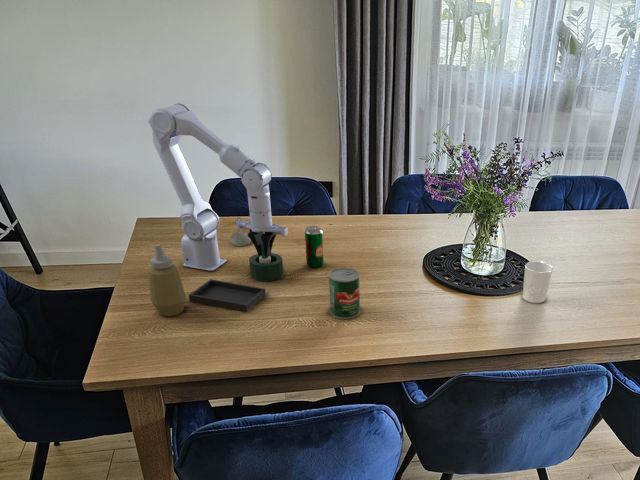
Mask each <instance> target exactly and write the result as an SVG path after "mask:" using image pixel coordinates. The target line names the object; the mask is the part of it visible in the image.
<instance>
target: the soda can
mask: <svg viewBox="0 0 640 480" xmlns="http://www.w3.org/2000/svg"><path fill="white" fill-rule="evenodd" d="M323 238H324V236H323V230H322V228H321V226H318V225H308V226H306V227H305V230H304V243H305V244H304V245H305V260H306V262H305V263H306V266H307V267H308V268H310V269H320V268H322V267H324V262H325V261H324V240H323Z"/></svg>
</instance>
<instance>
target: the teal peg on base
mask: <svg viewBox="0 0 640 480" xmlns="http://www.w3.org/2000/svg"><path fill="white" fill-rule="evenodd" d="M261 253H262V256H260V257H259V263H271V257H270V256H269V257H265V253H264V245H263V243H261Z"/></svg>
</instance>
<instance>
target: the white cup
mask: <svg viewBox="0 0 640 480" xmlns="http://www.w3.org/2000/svg"><path fill="white" fill-rule="evenodd" d="M553 270H554V268H553V266H552V265H551V264H549V263H547V262H545V261H539V260H537V261H536V260H532V261H528V262H526V263H525V264H524V274H523V285H522V286H523V287H522V289H523V292H522V299H524V300H525V301H526V302H528V303H533V304H540V303H543V302H546V298H547V295H548V292H549V287H550V283H551V278H552V274H553Z"/></svg>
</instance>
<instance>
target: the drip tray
mask: <svg viewBox="0 0 640 480" xmlns="http://www.w3.org/2000/svg"><path fill="white" fill-rule="evenodd" d="M266 293H267V292H266V288H263V287H257V286H251V285H246V284H240V283H235V282H228V281H223V280H217V279H212V278H210V279H209V280H207V281H206V282H205V283H203V284H202V285H200V286H199V287H197V288H196V289H195V290H193V291H192V292H191V293H189V294H188V297H189V298H188V299H189V302H190V303H194V304H195V303H197V304H202V305H207V306H213V307H217V308H223V309H229V310H234V311H240V312H246V313H248V312H249V311H250V310H251V309H253V307H254V306H256V305H257V304H258V303H259V302H260V301H261V300H262V299H264V298H265V297H266V296H267V295H266Z"/></svg>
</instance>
